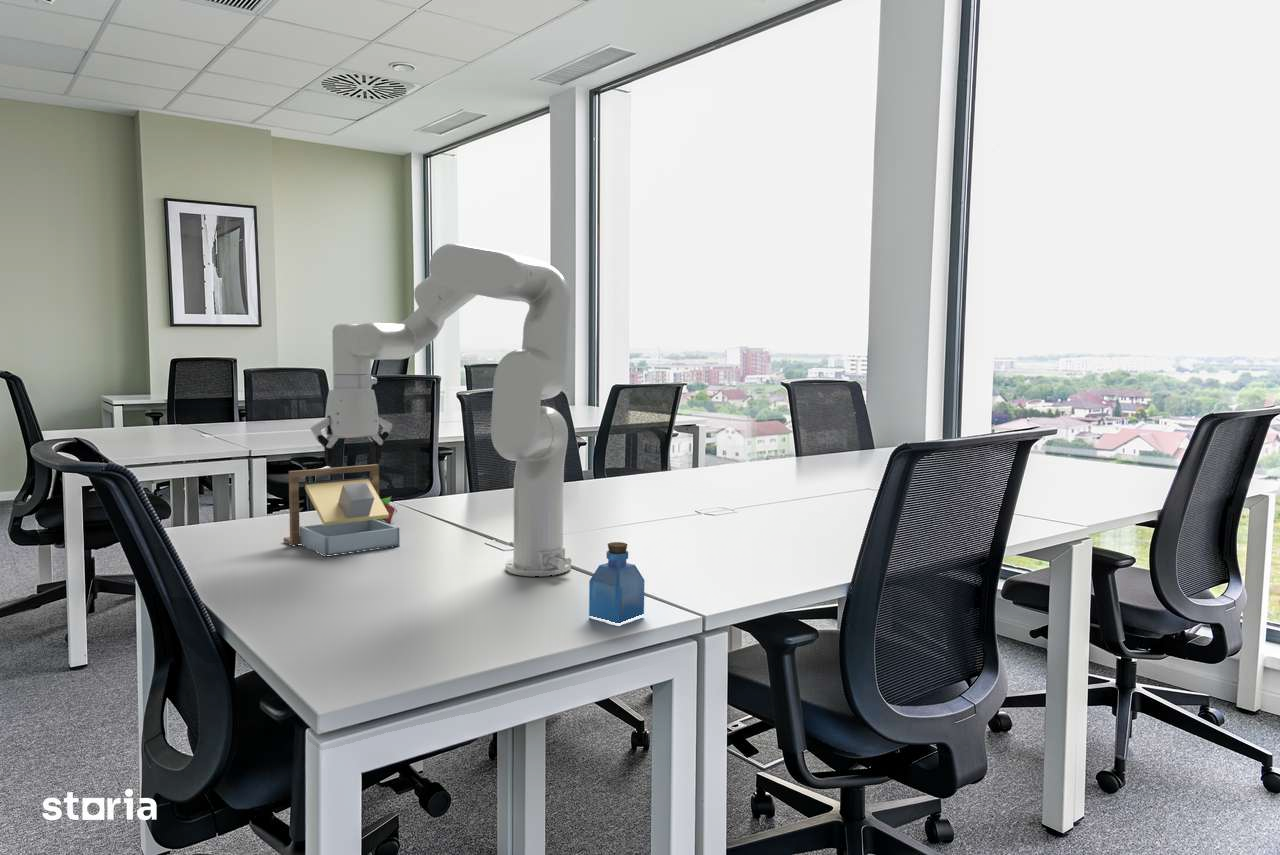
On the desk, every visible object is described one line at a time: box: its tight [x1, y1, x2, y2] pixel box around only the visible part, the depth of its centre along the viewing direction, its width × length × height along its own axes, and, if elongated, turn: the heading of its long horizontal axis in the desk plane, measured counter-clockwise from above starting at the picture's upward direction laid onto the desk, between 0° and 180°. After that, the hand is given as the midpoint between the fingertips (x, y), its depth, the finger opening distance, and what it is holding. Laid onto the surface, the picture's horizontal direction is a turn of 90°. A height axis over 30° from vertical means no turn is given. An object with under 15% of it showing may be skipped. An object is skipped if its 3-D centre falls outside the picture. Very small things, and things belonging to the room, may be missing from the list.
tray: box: [299, 519, 401, 556], centre depth 183 cm, size 14×16×4 cm
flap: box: [304, 479, 389, 526], centre depth 183 cm, size 12×14×1 cm
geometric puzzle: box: [380, 495, 398, 524], centre depth 208 cm, size 7×7×8 cm
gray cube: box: [338, 483, 374, 518], centre depth 180 cm, size 5×5×5 cm
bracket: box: [283, 463, 380, 545], centre depth 189 cm, size 6×20×16 cm, turn 132°
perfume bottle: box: [588, 541, 645, 623], centre depth 136 cm, size 6×6×12 cm
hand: (353, 464), depth 180 cm, fingers open, 9 cm apart
